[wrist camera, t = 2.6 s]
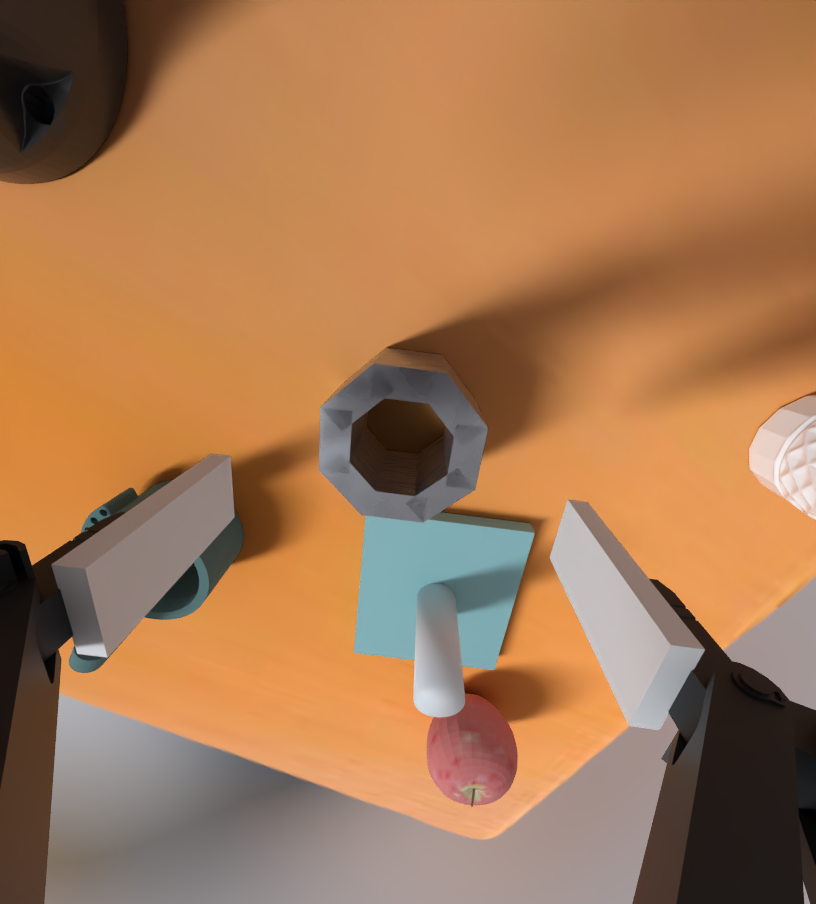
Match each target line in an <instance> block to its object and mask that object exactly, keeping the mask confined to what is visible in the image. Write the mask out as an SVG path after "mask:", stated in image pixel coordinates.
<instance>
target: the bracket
mask: <svg viewBox="0 0 816 904" xmlns="http://www.w3.org/2000/svg"><path fill="white" fill-rule="evenodd" d="M171 481H172V480H169V481H164V482H161V483H158V484H156V485H154V486H152V487H151V488H149V489H148V490H146V491H145V492H143V493H142V494H141V495H139V496H138V495H137V494H136V492H135V490H134V489H133V488H129V489H127V490H125V491H124V492H122V493H121V494H119V495H117V496H116V497H114V498H113V499H111V500H110V501H108V502H107V503H105V504H104V505H102V506H100V507H99V508H97V509H96V510H95V511H93V512H92V513H91V514H90V515H89V516H88V518H87V519H86V520H85V522H84V525H83V527H82V530H81V533H82V532H86V530H87V529H88V528H90V527H91V526H93V525H94V524H96V523H97V522H99V521H100V520H102V519H104V518H107V517H109V516H112V515H114V514H117V513H119V512H128V511H129V510H131V509H132V508H133V507H135V506H136V505H138V504H139V503H141V502H142V501H144V500H145V499H146V498H148V497H149V496H151V495H152V494H154V493H155V492H157V491H158V490H159V489H161V488H162V487H164V486H165V485H167V484H168V483H169V482H171ZM234 515H235V517H234V518H233V520H232V521H231V522H230V523H229V524H228V525H227V526H226V527H225V528H224V529H223V531H222V532H221V533H220V534H219V535H218V536H217V537H216V538H215V539H214V541H213V542H212V543H211V544H210V545H209V546H208V547H207V548H206V549H205V550H204V552H203V553H202V554H201V555H200V556H199V557H198V558H197V559H196V560H195V562H194V565H195V566H190V567H189V568H188V569H187V570H186V571H185V573H184V574H183V575H182V576H181V577H180V578H179V579H178V580H177V581H176V583H175V584H174V585H173V586H172V587H171V588H170V589H169V590H168V591H167V592H166V594H165V595H164V596H163V597H162V598H161V599H160V600H159V601H158V602H157V604H156V605H155V606H154V607H153V608H152V609H151V610H150V611H149V612H148V613H147V615H146V616H145V617H146V618H151V619H160V620H167V619H176V618H181V617H184V616H187V615H189V614H191V613H193V612H194V611H196V610H197V609H198V608H199V607H200V606H201V605H202V604H203V602H204V601H205V600H206V598H207V597H208V595H209V594H210V593H211V591H212V590H213V589H214V587H215V586H216V584H217V583H218V582H219V580H220V579H221V578H222V576H223V575H224V573H225V572H226V571H227V569H228V568H229V567H230V565H231V564H232V562H233V561H234V560H235V558H236V557H237V556H238V554H239V552H240V550H241V548H242V545H243V537H244V534H243V528H242V524H241V521H240V519H239V517H238V515H237V513H236V512H235V510H234ZM130 633H131V632H130ZM130 633H129V634H130ZM129 634H128V635H129ZM123 641H124V640H123ZM123 641H122V642H123ZM122 642H121V643H122ZM121 643H120V644H121ZM120 644H119V645H120ZM116 649H117V648H116ZM116 649H115V650H116ZM115 650H114V651H115ZM114 651H113V652H114ZM113 652H112V653H113ZM112 653H111V654H112ZM111 654H110V655H111ZM109 657H110V656H109ZM109 657H108V658H109ZM108 658H106V657H99V656H91V655H83V654H77V651H76V648H75V646H74V648H73V651H72V653H71V656H70V659H69V665H70V667H71V668H72V669H73V670H74V671H76V672H80V673H88V672H92V671H95V670H96V669H98V668H99V667H101V666H102V665H103V663H104V662H105V661H106V660H107V659H108Z"/></svg>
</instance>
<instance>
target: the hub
mask: <svg viewBox="0 0 816 904" xmlns="http://www.w3.org/2000/svg"><path fill="white" fill-rule="evenodd" d="M384 398H387V399H394V400H402V401H410V402H418V403H426V404H429V405H430V407H431V408H432V409H433V410H434V412H435V413H436V414H437V416H438V417H439V418H440V419H441V421H442V422H443V423H444V424H445V426H444V432H443V436H442V437H440V438H439V439H438V440H436V441H435V442H433V443H432V444H430V445H429V446H428V447H426V448H425V449H423V450H422V451H421V452H419V453H418V454H417V453H409V452H401V451H393V450H386V448H385V447H384V446H383V445H382V444H381V443H380V441H379V440H378V439H377V438H376V437H375V436H374V434H373V433H372V432H371V431H370V430H369V429H368V427H367V426H366V423H367V412H368V411H369V410H370V409H371V408H373V407H374V406H375V405H377V404H378V403H379V402H380V401H382V400H383V399H384ZM487 431H488V427H487V424H486V422H485V420H484V418H483V416H482V414H481V412H480V409H479V407H478V405H477V403H476V401H475V399H474V397H473V396H472V395H471V393H470V392H469V390H468V389H467V388H466V386H465V385H464V384H463V382H462V381H461V380H460V378H459V377H458V376H457V374H456V373H455V371H454V370H453V369H452V367H451V366H450V365H449V363H448V362H447V361H446V359H445V358H444V357H443V355H441V354H433V353H426V352H418V351H410V350H402V349H394V348H387V347H386V348H385V349H384V350H383V351H382V352H380V353H379V354H378V355H377V356H375V357H374V358H373V359H372V360H371V361H369V362H368V363H367V364H366V365H365V366H363V367H362V368H361V369H360V370H359V371H357V372H356V373H355V374H354V375H352V376H351V377H350V378H349V379H348V380H346V381H345V382H344V383H343V384H342V385H341V386H340V387H339V388H338V389H337V390H336V391H335V392H334V394H333V395H332V396H331V397H330V398H329V399H328V400H327V401H326V402H325V403H324V404H323V405H322V406H321V411H320V447H319V471H320V472H321V473H322V474H323V475H324V476H325V477H326V478H327V479H328V480H329V481H330V482H331V483H332V484H333V485H334V486H335V487H336V489H337V490H338V491H339V492H340V493H341V494H342V495H343V496H344V497H345V498H346V499H347V500H348V501H349V502H350V503H351V504H352V505H353V506H354V508H355V509H356V510H357V511H358V512H359V513H360V514H361V515H366V516H374V517H382V518H390V519H398V520H406V521H414V522H422V523H424V522H425V521H427V520H428V519H430V518H432V517H433V516H435V515H436V514H438V513H439V512H441V511H442V510H444V509H446V508H447V507H449V506H450V505H452V504H453V503H455V502H457V501H458V500H460V499H461V498H463V497H464V496H466V495H468V494H469V493H471V492H472V491H474V490H475V488H476V483H477V479H478V474H479V469H480V465H481V460H482V455H483V450H484V446H485V441H486V436H487Z"/></svg>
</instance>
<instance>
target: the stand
mask: <svg viewBox="0 0 816 904" xmlns="http://www.w3.org/2000/svg"><path fill="white" fill-rule="evenodd" d="M534 534H535V532H534V530H533V528H532V526H531V523H523V522H515V521H507V520H499V519H491V518H483V517H475V516H467V515H459V514H451V513H443V512H439V513H438V514H436V515H435V516H433V517H432V518H430V519H428V520H427V521H425V522H424V523H422V522H414V521H406V520H398V519H390V518H382V517H374V516H366V518H365V530H364V542H363V553H362V565H361V577H360V588H359V600H358V612H357V623H356V635H355V647H354V653H360V654H368V655H376V656H385V657H393V658H401V659H409V660H415V667H414V698H413V700H414V704H415V706H416V708H417V709H418V710H419V711H420V712H422V713H424V714H426V715H428V716H432V717H449V716H452V715H455V714H457V713H458V712H460V711H461V710H462V708H463V707H464V705H465V692H464V682H463V671H462V666H465V667H473V668H481V669H489V670H494V669H495V666H496V663H497V659H498V656H499V652H500V649H501V646H502V642H503V639H504V636H505V632H506V629H507V625H508V622H509V619H510V615H511V612H512V609H513V605H514V602H515V598H516V595H517V592H518V588H519V585H520V582H521V578H522V575H523V571H524V568H525V565H526V561H527V558H528V554H529V551H530V548H531V544H532V541H533V538H534Z"/></svg>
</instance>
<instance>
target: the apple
mask: <svg viewBox="0 0 816 904" xmlns="http://www.w3.org/2000/svg"><path fill="white" fill-rule="evenodd" d="M517 756H518V755H517V747H516V743H515V739H514V735H513V732H512V730H511V728H510V726H509V724H508V723H507V721H506V720H505V718H504V717H503V716H502V714H501V713H500V711H499V710H498V709H497V708H496V707H495V706H494V705H493V704H492V703H490V702H489V701H488V700H487V699H485V698H483V697H481V696H479V695H475V694H469V693H465V705H464V707H463V708H462V710H461V711H460V712H458V713H457V714H455V715H452V716H449V717H434V718H433V720H432V722H431V725H430V728H429V731H428V737H427V763H428V769H429V772H430V775H431V777H432V779H433V781H434V783H435V784H436V786H437V787H438V789H439V790H440V791H441V792H442V793H443V794H444V795H445V796H447V797H448V798H450V799H451V800H453V801H456V802H459V803H462V804H466V805H471V807H473V805H484V804H489V803H492V802H494V801H496V800H498V799H500V798H501V797H502V796H503V795H504V794H505V793H506V792H507V791H508V790H509V788H510V787H511V785H512V783H513V780H514V777H515V775H516V771H517Z"/></svg>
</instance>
